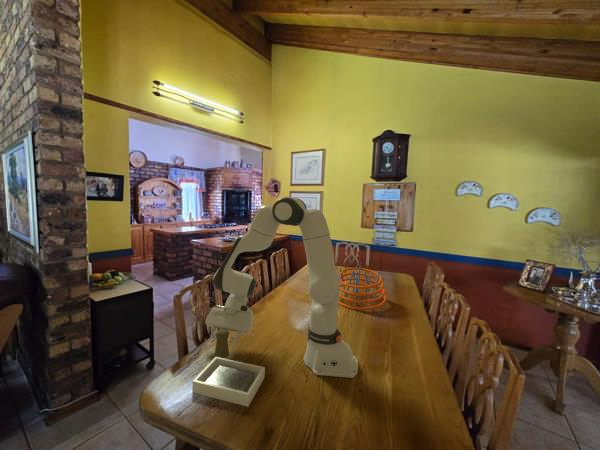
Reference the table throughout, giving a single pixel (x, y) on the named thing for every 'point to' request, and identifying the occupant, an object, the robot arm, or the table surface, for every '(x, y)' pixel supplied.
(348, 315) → the table surface
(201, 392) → the tote
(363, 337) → the table surface
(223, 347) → the cork
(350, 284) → the toy basket
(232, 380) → the tin box
